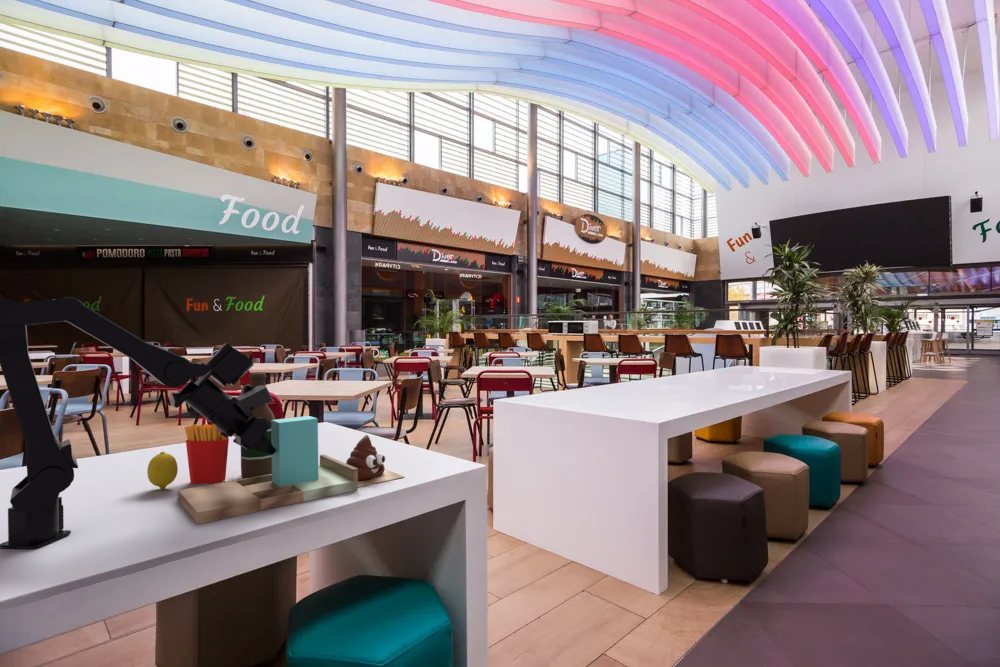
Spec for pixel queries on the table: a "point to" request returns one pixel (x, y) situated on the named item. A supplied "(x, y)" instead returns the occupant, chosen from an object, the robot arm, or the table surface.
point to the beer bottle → (259, 461)
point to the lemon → (162, 470)
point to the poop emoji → (366, 460)
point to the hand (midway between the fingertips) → (274, 452)
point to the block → (294, 450)
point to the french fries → (206, 454)
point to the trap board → (265, 492)
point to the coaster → (380, 478)
